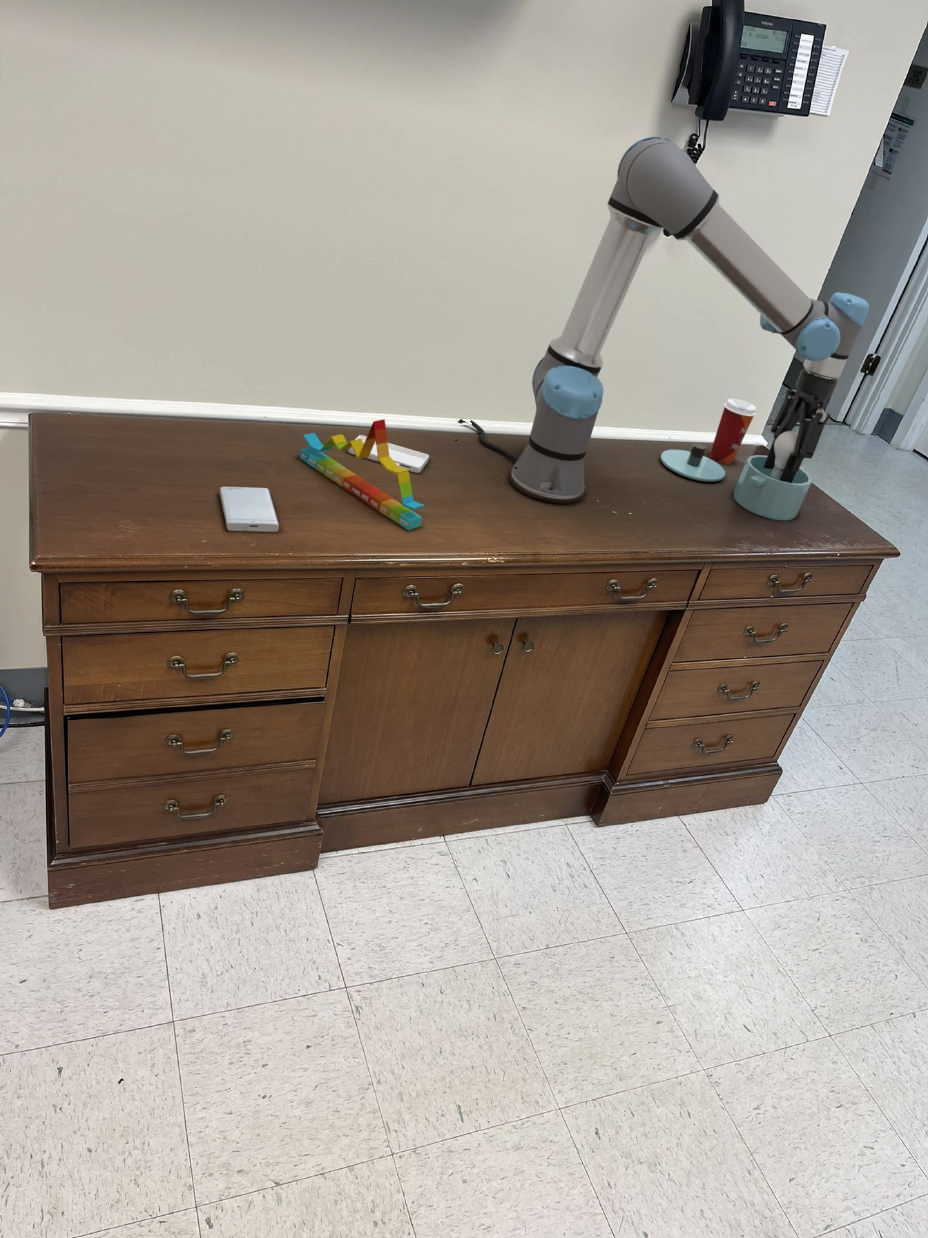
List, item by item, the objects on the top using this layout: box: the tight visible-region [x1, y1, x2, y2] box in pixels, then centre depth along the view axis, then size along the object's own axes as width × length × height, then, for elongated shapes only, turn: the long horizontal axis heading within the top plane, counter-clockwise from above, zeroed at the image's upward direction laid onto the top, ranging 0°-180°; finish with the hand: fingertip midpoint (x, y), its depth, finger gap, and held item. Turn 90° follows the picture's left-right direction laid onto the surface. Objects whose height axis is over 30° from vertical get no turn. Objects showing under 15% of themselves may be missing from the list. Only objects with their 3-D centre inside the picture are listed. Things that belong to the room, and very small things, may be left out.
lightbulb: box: [771, 430, 801, 480], centre depth 196 cm, size 6×6×11 cm
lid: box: [659, 442, 726, 483], centre depth 210 cm, size 15×15×6 cm
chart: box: [299, 419, 425, 531], centre depth 164 cm, size 30×3×15 cm, turn 47°
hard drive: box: [219, 486, 280, 533], centre depth 153 cm, size 2×8×12 cm
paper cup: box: [709, 398, 757, 465], centre depth 217 cm, size 8×8×14 cm
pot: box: [732, 454, 813, 521], centre depth 200 cm, size 14×20×8 cm
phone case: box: [347, 434, 430, 474], centre depth 183 cm, size 7×1×15 cm
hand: (777, 475), depth 199 cm, fingers closed on lightbulb, 6 cm apart
